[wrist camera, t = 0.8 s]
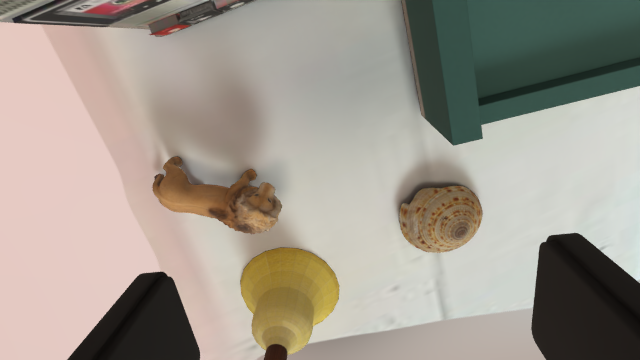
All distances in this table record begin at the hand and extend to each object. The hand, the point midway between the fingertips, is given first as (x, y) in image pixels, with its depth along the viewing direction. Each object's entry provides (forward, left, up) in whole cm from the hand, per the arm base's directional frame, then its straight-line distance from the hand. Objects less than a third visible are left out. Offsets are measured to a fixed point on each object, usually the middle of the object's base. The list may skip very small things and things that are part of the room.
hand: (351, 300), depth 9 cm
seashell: (+14, +7, -28) cm, 32 cm away
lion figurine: (+4, -14, -28) cm, 31 cm away
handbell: (+20, -12, -28) cm, 36 cm away
